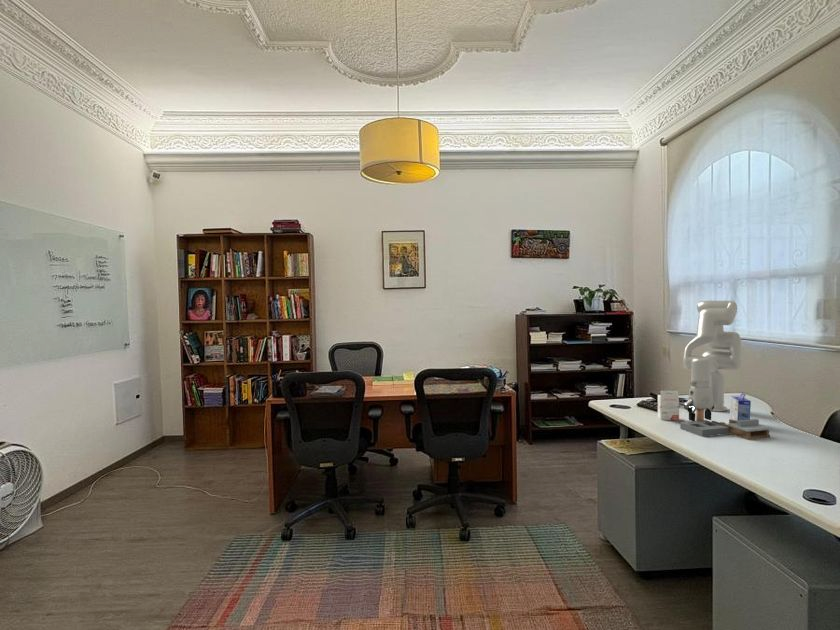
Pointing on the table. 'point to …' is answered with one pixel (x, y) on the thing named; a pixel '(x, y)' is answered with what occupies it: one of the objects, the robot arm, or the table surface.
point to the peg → (699, 414)
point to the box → (743, 433)
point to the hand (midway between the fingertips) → (699, 419)
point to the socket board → (704, 428)
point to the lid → (748, 425)
